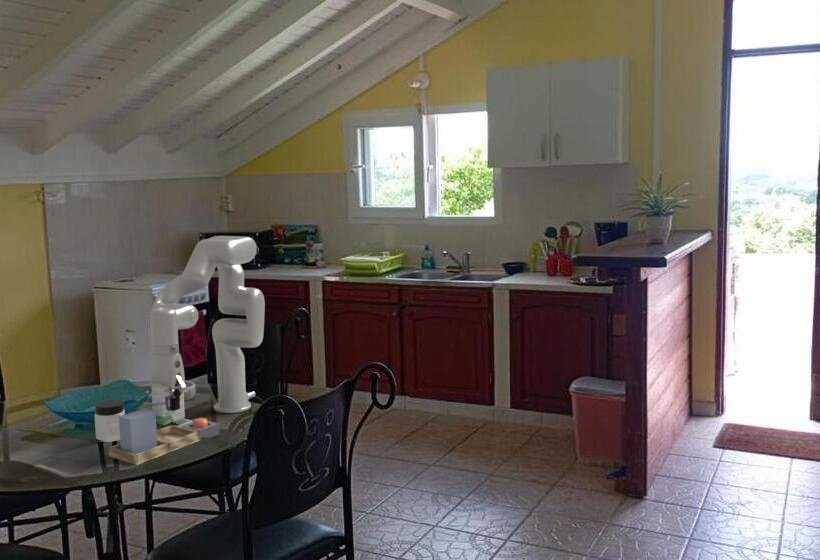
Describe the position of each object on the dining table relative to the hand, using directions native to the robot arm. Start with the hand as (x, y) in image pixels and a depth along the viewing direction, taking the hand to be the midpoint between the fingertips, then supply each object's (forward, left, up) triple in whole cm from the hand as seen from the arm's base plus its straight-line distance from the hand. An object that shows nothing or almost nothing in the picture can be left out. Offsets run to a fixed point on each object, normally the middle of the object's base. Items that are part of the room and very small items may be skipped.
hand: (168, 407), depth 251 cm
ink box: (0, 0, -4) cm, 4 cm away
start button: (-11, +1, -11) cm, 16 cm away
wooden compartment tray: (+6, 0, -12) cm, 13 cm away
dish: (-36, -38, -12) cm, 54 cm away
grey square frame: (-11, +1, -12) cm, 17 cm away
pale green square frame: (-9, -14, -12) cm, 21 cm away
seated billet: (+11, 0, -11) cm, 16 cm away
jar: (+7, -19, -12) cm, 24 cm away
